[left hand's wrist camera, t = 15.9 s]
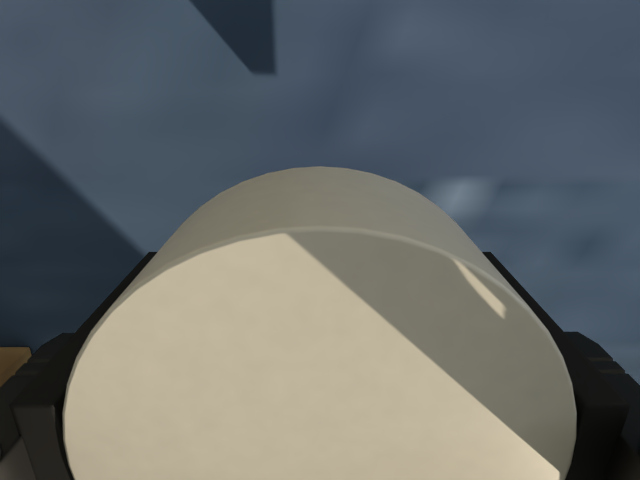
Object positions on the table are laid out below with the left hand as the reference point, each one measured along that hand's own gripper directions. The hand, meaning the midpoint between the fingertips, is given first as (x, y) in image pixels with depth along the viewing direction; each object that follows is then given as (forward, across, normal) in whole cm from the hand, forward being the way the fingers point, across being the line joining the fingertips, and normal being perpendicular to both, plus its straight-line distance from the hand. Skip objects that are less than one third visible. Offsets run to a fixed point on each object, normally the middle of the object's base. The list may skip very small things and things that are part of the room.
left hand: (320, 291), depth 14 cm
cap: (-3, 0, 0) cm, 3 cm away
